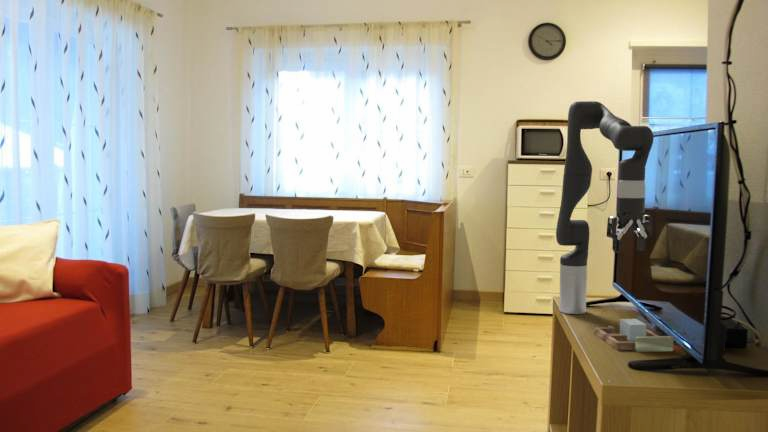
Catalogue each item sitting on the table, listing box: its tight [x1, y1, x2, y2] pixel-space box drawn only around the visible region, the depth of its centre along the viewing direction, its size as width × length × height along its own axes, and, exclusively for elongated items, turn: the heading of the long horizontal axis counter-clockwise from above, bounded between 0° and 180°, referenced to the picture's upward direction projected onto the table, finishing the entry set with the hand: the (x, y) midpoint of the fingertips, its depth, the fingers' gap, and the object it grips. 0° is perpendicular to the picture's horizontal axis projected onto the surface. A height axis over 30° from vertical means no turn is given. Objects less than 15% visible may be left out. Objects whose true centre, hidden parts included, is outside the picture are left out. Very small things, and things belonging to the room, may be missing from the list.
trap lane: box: [594, 325, 674, 353], centre depth 178 cm, size 20×15×4 cm
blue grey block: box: [619, 318, 647, 342], centre depth 182 cm, size 7×5×5 cm
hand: (628, 251), depth 173 cm, fingers open, 8 cm apart
